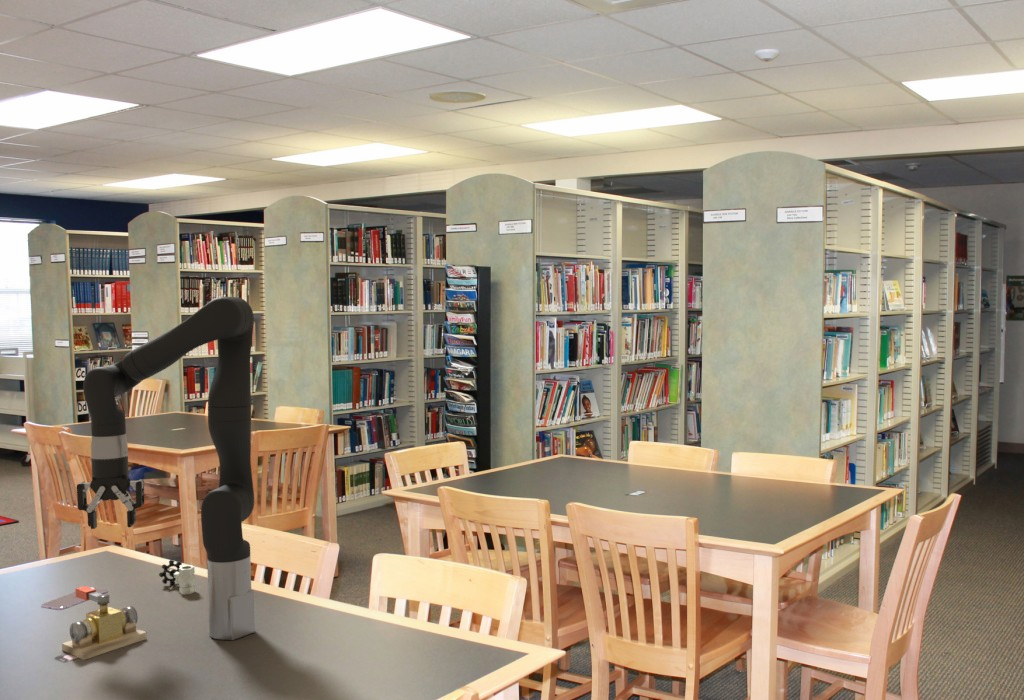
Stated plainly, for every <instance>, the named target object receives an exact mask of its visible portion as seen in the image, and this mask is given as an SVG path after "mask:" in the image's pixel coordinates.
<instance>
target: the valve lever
mask: <svg viewBox="0 0 1024 700" xmlns="http://www.w3.org/2000/svg"><path fill="white" fill-rule="evenodd" d="M90 587H91V586H86V585H84V586H81V587H76V588H75V592H76V597H77V598H80V599H83V600H86V601H85V602H87V601H92V602H95V603H97V605H99V606H100V605H104V604H108V605H109V604H110V603H111V601H110V600H111V599H110V598H111V597H110V594H107V593H105V594H100V593H97V592H96V589H93V588H94V587H92V588H90Z"/></svg>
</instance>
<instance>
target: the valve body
mask: <svg viewBox="0 0 1024 700" xmlns="http://www.w3.org/2000/svg"><path fill="white" fill-rule="evenodd" d="M108 605H109V603H108V604H104V605H99V609H97V610H93V611H90V612H87V613H85V618H84V620H80V621H77V622H74V623H71V624H70V625H69V636H70V639H71V641H73V642H74V643H79V642H80V640H81V639H84V638H87V636H88V635H92V641H93V642H96V643H98V644H101V643H104V642H107V641H111V640H114V639H117V638H120V637H123V632H122V629H124V628H125V627H126V623H129V622H130V624H132V623H135V622H136V624H137V623H138V617H139V616H138V613H137V612H138V611H137V610H136V608H135V607H134V606H132V605H130V606H126V607H123V608H122V609H121V608H119V609H118V608H114V607H110V606H108Z"/></svg>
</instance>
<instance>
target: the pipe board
mask: <svg viewBox="0 0 1024 700" xmlns="http://www.w3.org/2000/svg"><path fill="white" fill-rule="evenodd" d="M122 632H123V637H120V638H117V639H114V640H111V641H107V642H104V643H101V644H98V643H96V642H93V641H92V635H88V636H87V638H84V639H81V640H80V642H79V643H74V642H73V641H72V640H69V641H65V642H63V643H61V650H62V651H63V652H66V654H67V653H68V654H70V655H73V656H75V657H77V658H79V659H81V660H88V659H91V658H94V657H97V656H99V655H102V654H105V653H108V652H111V651H114V650H117V649H120V648H124V647H126V646H131V645H132V644H135V643H138V642H141V641H144V640H147V632H146V631H144V630H142V629H139V628H137V623H136V622H135V623H132V624H130V622H129V623H126V627H125V628H124V629H122Z"/></svg>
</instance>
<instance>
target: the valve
mask: <svg viewBox="0 0 1024 700" xmlns="http://www.w3.org/2000/svg"><path fill="white" fill-rule="evenodd" d="M182 565H183V564H182V561H176V562H175V560H173V559H170V560H169V561H168V565H167V564H162V565H161V569H163V571H162V572H161V571H160V572H159V574H158V576H159V577H160V578H163V579H162V581H161V582H162V583H163V584H164V585H165V584H166V585H167V583H168V582H169V585H171V586H174V585H175V584H176V582H177V583H178V585H179V589H178V590H179V594H180V595H183V596H184V595H191V594H193V593H196V586H195V584H196V581H197V580H196V579H197V578H196V574H195V573H196V572H195V571H196V570H195V567H194V565H183V566H182ZM180 566H181V567H180ZM171 567H175V568H176V569H175V568H174V569H173V568H171ZM170 568H171V569H170ZM169 569H170V570H169ZM167 573H168V575H169V576H170V577H171V578H168V576H167ZM175 581H176V582H175Z"/></svg>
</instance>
